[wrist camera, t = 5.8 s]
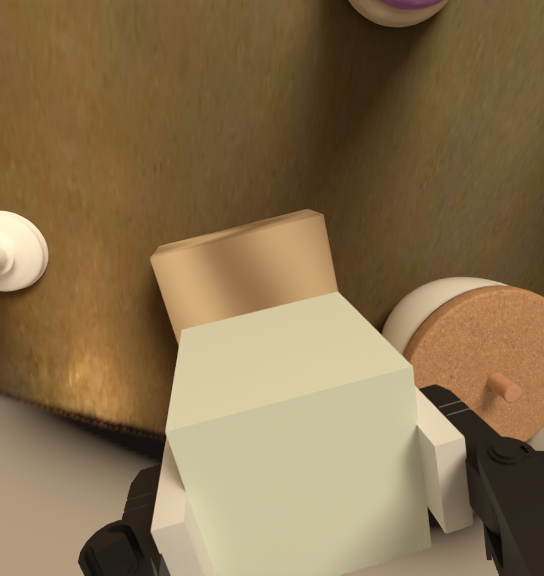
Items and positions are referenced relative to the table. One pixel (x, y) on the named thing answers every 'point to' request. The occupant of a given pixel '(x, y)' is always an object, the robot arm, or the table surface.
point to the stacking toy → (398, 11)
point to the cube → (298, 441)
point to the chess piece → (20, 252)
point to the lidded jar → (477, 348)
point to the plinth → (245, 269)
